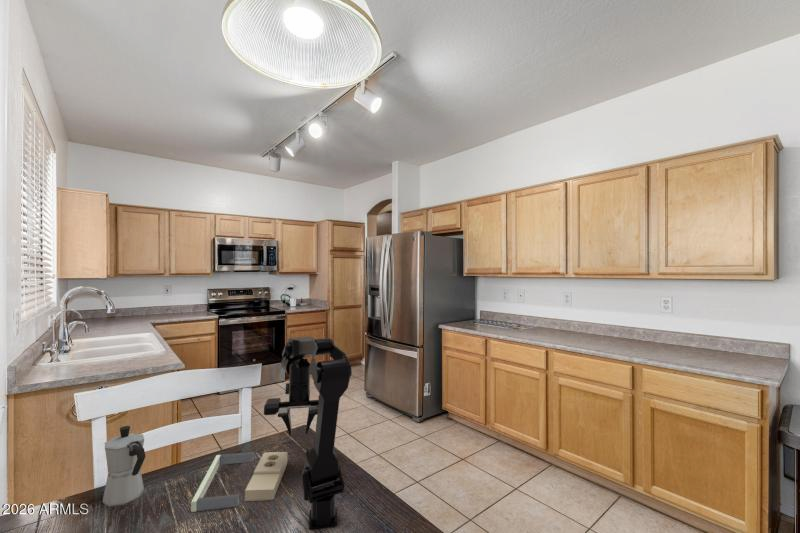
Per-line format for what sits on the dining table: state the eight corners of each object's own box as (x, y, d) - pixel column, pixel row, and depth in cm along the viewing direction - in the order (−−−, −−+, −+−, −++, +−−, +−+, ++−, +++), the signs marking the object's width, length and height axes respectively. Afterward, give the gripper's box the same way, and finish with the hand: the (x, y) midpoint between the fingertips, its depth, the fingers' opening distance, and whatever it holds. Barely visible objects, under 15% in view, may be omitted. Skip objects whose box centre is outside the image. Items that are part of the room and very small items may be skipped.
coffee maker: (91, 497, 95) (92, 428, 95) (129, 480, 103) (130, 416, 103) (121, 517, 88) (123, 441, 88) (160, 496, 96) (161, 427, 96)
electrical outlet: (245, 486, 95) (263, 451, 112) (244, 502, 95) (263, 465, 112) (273, 485, 95) (287, 451, 113) (273, 501, 95) (287, 464, 113)
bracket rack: (237, 506, 92) (237, 496, 92) (190, 512, 90) (191, 501, 90) (253, 459, 115) (253, 451, 115) (216, 463, 112) (216, 455, 112)
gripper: (331, 371, 116) (330, 420, 116) (269, 373, 112) (268, 424, 112) (332, 382, 105) (331, 436, 105) (264, 385, 101) (263, 442, 101)
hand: (298, 434), depth 106 cm, fingers open, 4 cm apart
